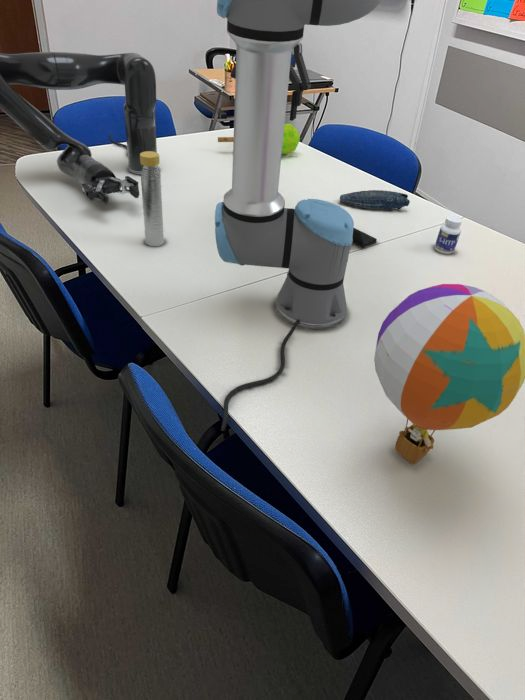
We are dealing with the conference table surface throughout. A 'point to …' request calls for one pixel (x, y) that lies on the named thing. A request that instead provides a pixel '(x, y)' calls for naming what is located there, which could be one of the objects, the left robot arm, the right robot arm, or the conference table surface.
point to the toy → (448, 362)
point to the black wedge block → (362, 238)
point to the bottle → (152, 205)
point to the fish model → (376, 199)
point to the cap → (149, 158)
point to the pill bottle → (448, 235)
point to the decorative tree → (289, 139)
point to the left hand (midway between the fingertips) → (122, 197)
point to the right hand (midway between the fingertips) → (267, 114)
